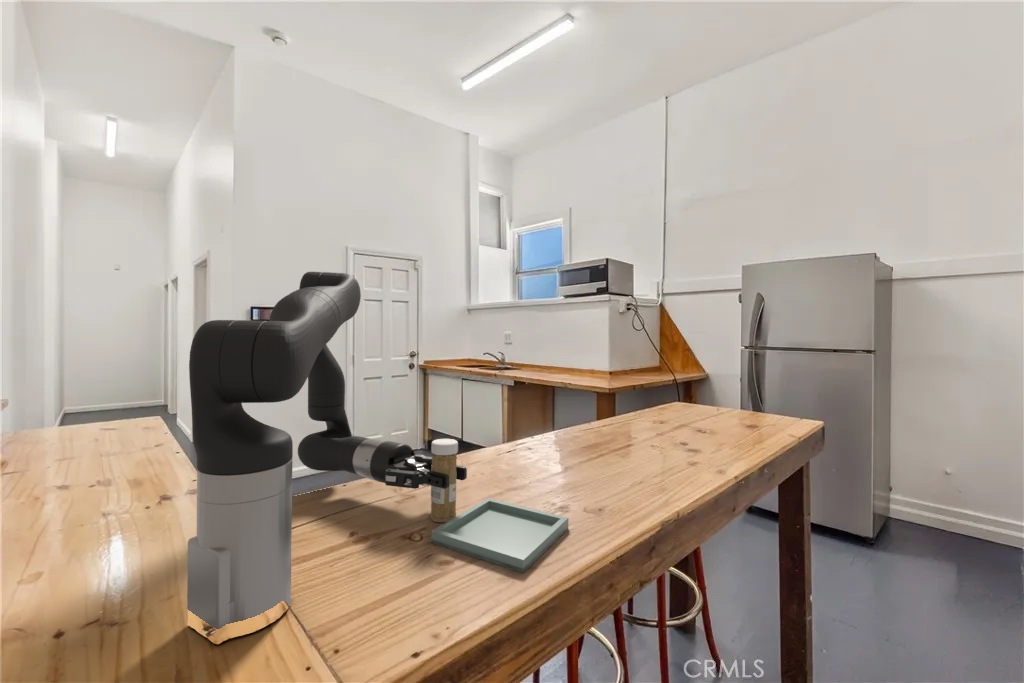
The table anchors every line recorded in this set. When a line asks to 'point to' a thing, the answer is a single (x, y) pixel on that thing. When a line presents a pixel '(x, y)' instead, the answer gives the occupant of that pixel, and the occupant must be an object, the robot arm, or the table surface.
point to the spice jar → (446, 464)
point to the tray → (501, 533)
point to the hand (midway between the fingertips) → (456, 477)
